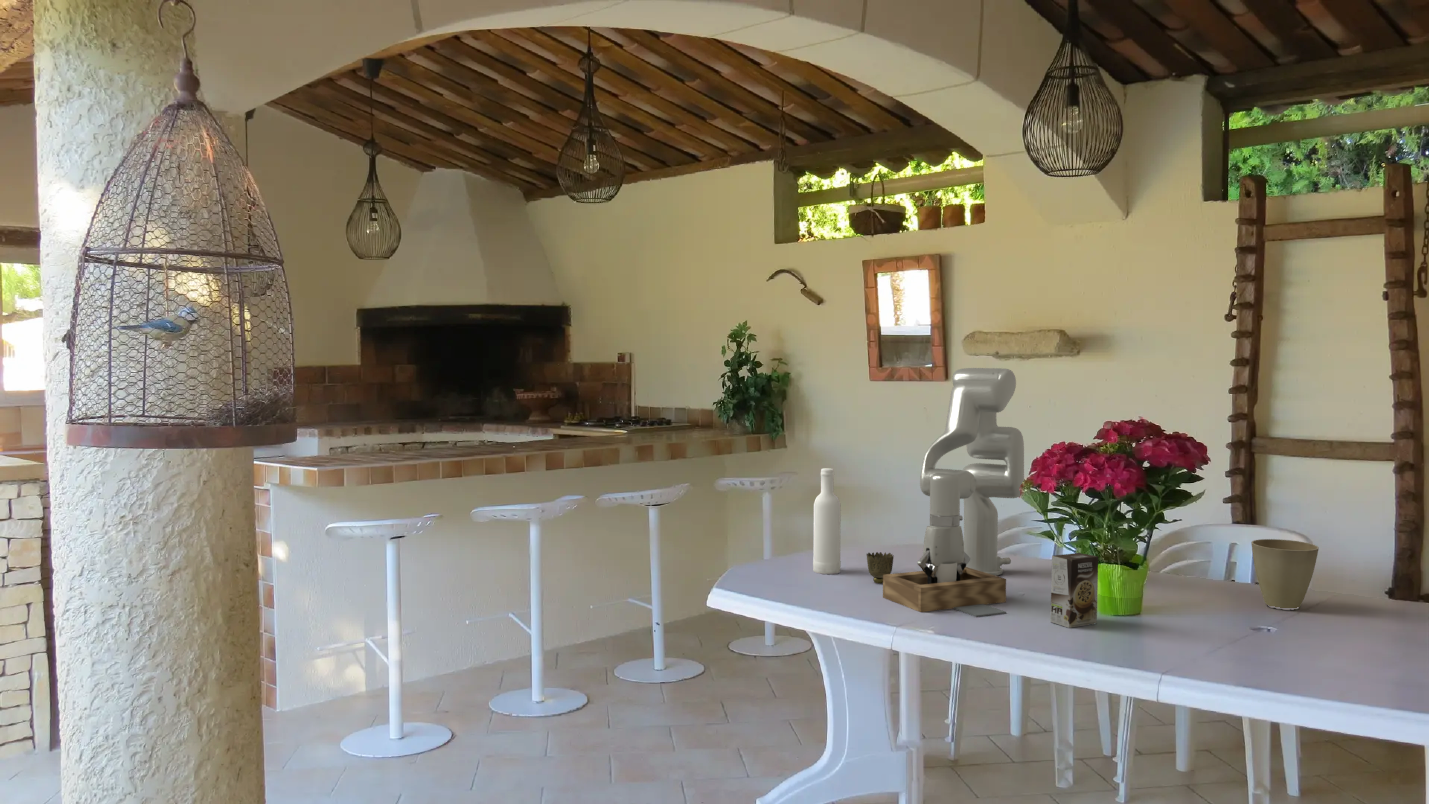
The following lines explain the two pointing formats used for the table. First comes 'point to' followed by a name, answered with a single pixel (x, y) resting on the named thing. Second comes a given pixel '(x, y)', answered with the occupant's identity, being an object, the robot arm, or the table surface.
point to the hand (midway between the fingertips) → (943, 589)
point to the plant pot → (1284, 570)
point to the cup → (879, 565)
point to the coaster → (979, 610)
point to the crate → (943, 590)
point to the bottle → (827, 527)
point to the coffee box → (1074, 590)
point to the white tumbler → (946, 573)
